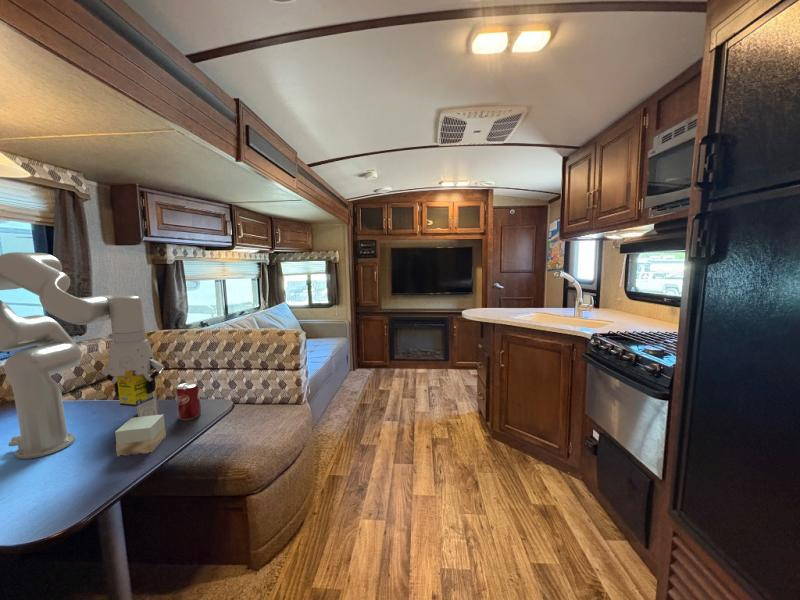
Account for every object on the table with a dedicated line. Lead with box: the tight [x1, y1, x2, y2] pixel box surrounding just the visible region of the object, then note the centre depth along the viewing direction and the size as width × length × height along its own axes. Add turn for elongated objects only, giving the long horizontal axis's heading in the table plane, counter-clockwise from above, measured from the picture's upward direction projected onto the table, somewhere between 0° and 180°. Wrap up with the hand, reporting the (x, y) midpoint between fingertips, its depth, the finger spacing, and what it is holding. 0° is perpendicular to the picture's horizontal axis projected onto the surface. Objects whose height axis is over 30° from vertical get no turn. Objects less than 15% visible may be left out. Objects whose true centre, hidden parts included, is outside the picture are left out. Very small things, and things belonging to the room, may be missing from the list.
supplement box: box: [117, 371, 153, 408], centre depth 100 cm, size 6×6×11 cm
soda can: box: [174, 381, 202, 421], centre depth 121 cm, size 7×7×12 cm
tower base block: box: [115, 426, 167, 457], centre depth 102 cm, size 9×9×4 cm
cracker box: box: [136, 369, 160, 417], centre depth 120 cm, size 14×6×21 cm, turn 41°
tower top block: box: [114, 413, 166, 445], centre depth 102 cm, size 9×9×4 cm
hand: (136, 393), depth 100 cm, fingers closed on supplement box, 7 cm apart
